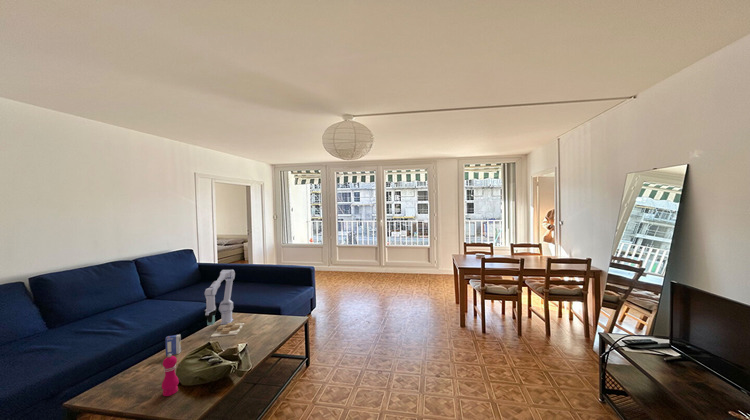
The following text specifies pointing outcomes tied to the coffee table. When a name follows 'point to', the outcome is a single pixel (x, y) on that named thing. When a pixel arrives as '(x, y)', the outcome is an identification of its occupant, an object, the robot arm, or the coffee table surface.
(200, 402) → the coffee table surface
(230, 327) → the board
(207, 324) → the piece
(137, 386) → the coffee table surface
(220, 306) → the robot arm
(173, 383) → the pepper mill
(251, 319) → the coffee table surface
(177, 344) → the walkman
